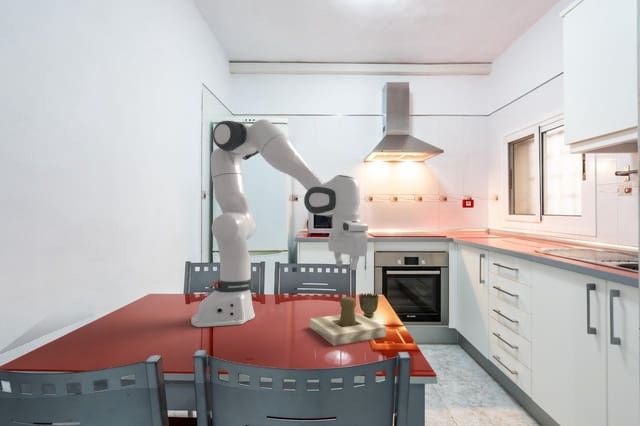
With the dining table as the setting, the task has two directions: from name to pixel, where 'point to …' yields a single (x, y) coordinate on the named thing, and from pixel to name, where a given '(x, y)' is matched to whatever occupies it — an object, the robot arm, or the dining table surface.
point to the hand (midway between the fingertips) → (346, 267)
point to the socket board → (347, 329)
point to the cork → (347, 312)
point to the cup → (368, 304)
